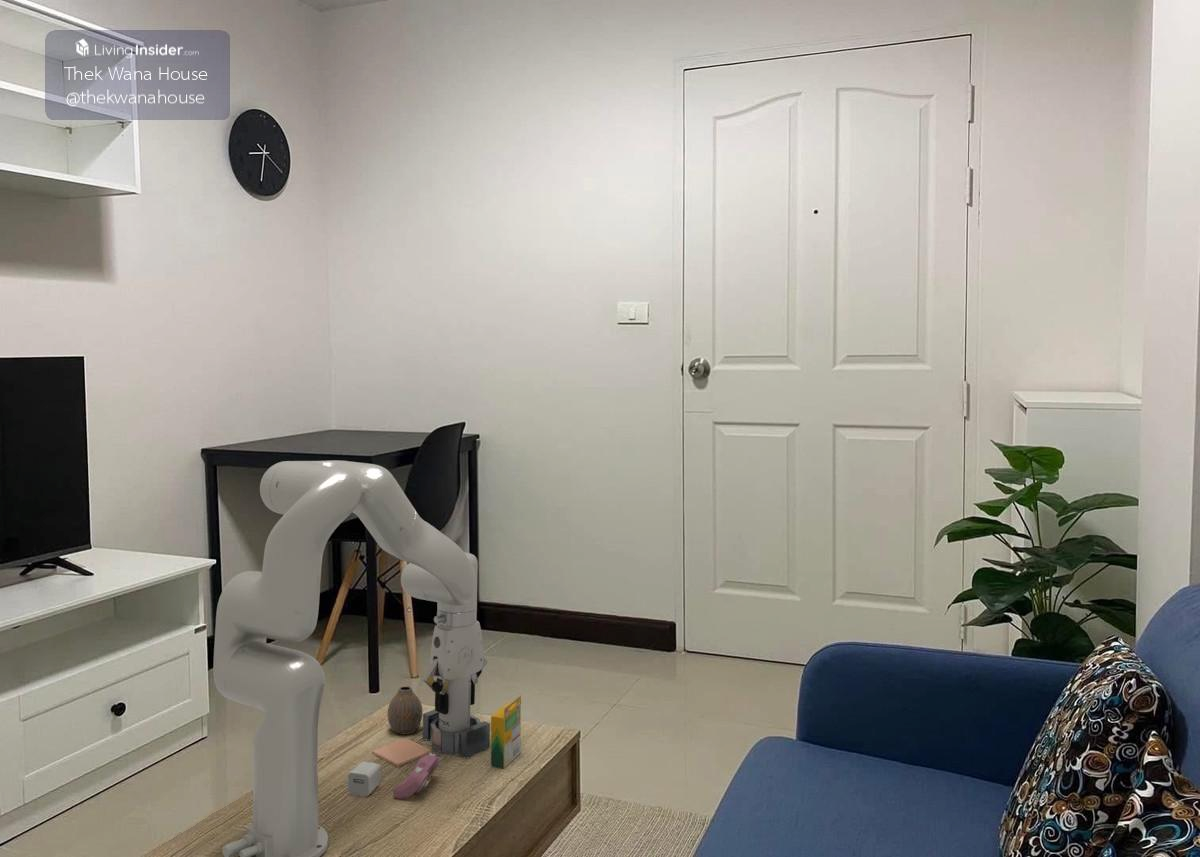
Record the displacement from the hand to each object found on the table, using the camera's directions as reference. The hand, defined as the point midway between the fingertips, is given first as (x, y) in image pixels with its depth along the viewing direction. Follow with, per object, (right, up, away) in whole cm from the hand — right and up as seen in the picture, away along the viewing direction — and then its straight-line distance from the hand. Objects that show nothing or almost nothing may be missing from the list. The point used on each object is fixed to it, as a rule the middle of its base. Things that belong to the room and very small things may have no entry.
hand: (454, 706), depth 185 cm
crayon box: (+10, -9, -5) cm, 14 cm away
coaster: (-10, -8, -4) cm, 13 cm away
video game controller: (-4, -10, -17) cm, 20 cm away
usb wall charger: (-13, -9, -17) cm, 23 cm away
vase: (-11, -7, +7) cm, 15 cm away
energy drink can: (0, -7, +1) cm, 7 cm away
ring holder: (0, -7, +1) cm, 8 cm away
